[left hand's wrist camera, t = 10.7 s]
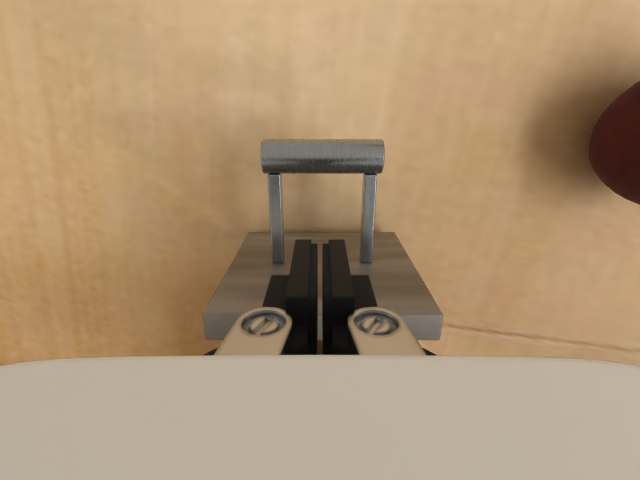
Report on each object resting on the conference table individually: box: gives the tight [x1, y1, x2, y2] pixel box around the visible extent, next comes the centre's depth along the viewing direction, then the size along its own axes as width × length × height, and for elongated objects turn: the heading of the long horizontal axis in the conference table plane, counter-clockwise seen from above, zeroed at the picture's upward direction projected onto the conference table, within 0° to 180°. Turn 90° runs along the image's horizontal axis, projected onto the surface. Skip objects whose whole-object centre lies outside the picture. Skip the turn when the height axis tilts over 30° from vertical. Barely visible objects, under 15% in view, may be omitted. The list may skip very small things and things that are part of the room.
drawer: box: [203, 139, 443, 355], centre depth 20 cm, size 22×9×10 cm, turn 0°
